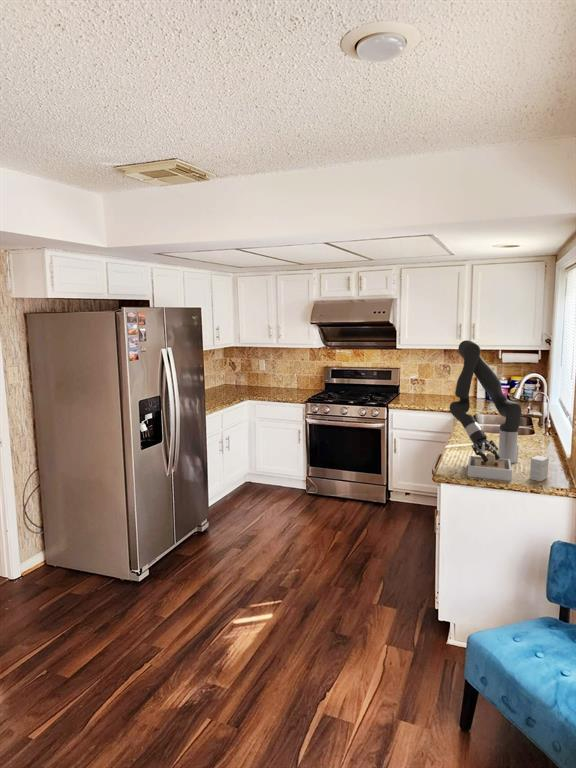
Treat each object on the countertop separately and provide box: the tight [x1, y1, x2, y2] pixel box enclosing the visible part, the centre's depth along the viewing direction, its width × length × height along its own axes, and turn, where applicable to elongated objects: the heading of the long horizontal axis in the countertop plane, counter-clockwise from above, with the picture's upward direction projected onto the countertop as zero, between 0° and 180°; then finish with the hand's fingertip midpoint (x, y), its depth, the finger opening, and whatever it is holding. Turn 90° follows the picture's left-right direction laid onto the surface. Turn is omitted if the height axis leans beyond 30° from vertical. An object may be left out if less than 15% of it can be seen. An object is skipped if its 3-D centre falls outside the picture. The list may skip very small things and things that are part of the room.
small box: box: [529, 455, 549, 482], centre depth 253 cm, size 8×6×10 cm
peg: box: [485, 453, 495, 466], centre depth 262 cm, size 4×4×9 cm
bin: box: [466, 455, 513, 482], centre depth 262 cm, size 20×20×6 cm
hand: (492, 460), depth 260 cm, fingers open, 8 cm apart
